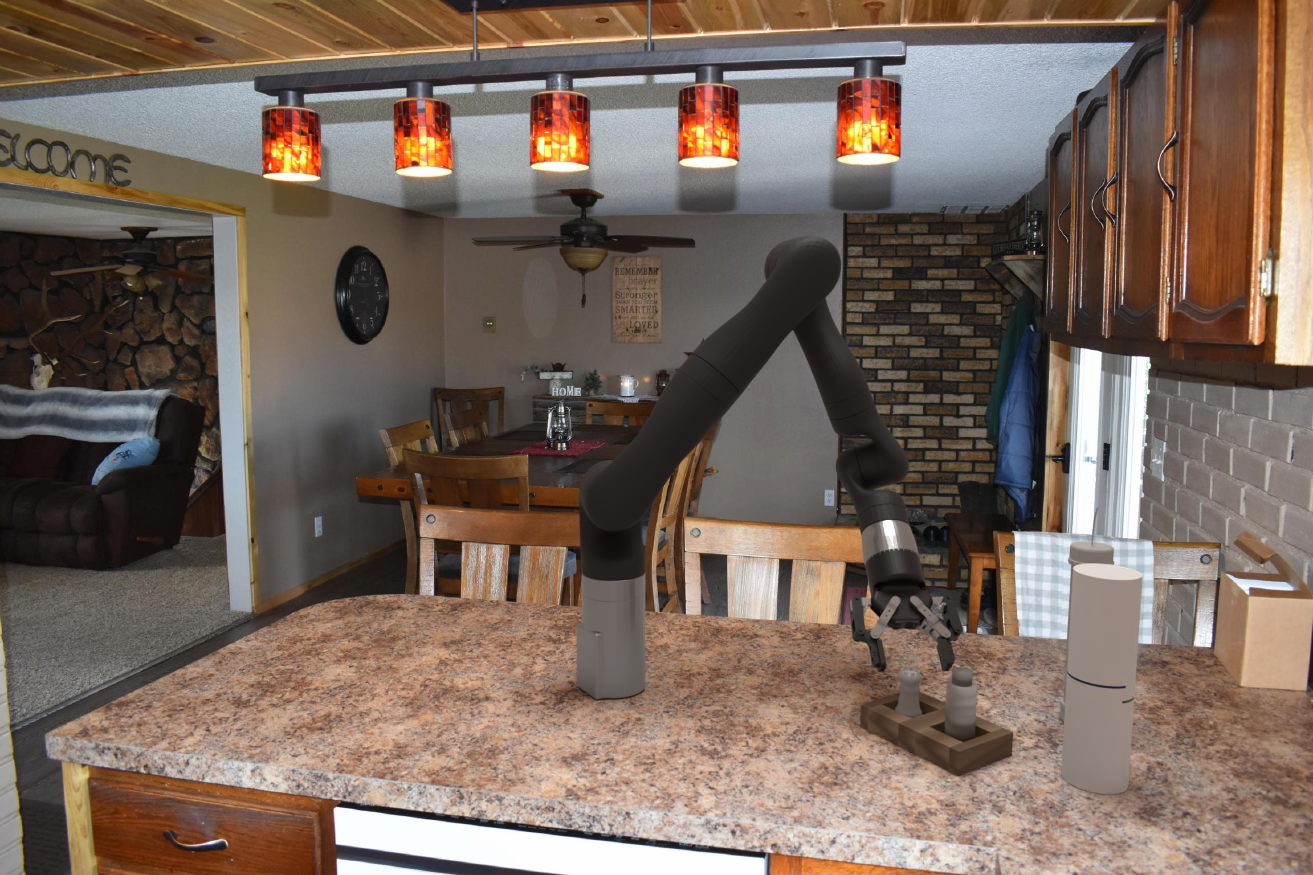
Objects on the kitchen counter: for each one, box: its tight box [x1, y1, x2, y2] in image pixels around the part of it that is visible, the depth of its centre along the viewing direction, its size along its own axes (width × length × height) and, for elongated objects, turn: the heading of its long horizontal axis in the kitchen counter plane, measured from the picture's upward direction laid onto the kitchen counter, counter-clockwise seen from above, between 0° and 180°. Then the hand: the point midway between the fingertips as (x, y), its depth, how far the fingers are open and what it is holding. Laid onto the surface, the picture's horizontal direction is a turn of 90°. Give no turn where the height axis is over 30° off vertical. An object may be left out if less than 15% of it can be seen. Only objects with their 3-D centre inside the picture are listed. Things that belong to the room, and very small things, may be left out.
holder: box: [859, 666, 1014, 777], centre depth 117 cm, size 16×10×11 cm, turn 32°
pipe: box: [1059, 506, 1115, 723], centre depth 121 cm, size 6×6×30 cm
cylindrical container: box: [1060, 563, 1144, 795], centre depth 106 cm, size 7×7×25 cm
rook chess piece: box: [895, 666, 924, 718], centre depth 121 cm, size 4×4×8 cm
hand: (915, 669), depth 119 cm, fingers open, 8 cm apart
